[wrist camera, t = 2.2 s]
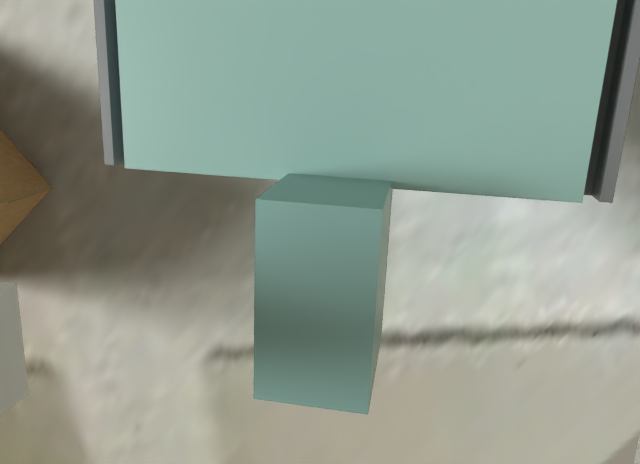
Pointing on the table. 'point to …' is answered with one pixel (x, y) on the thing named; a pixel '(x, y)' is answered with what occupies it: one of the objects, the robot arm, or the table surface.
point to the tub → (619, 79)
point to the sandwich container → (17, 187)
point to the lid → (356, 140)
